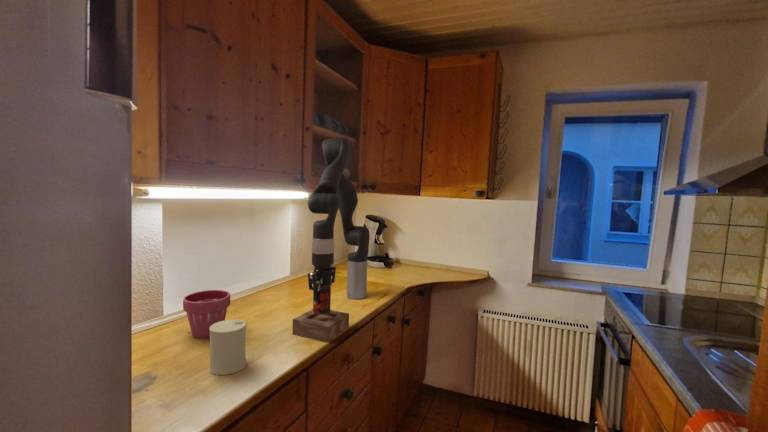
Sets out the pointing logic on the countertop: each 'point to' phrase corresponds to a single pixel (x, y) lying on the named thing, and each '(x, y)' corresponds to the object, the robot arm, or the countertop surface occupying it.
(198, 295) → the plant pot
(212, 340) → the can
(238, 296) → the countertop surface
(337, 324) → the plinth
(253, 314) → the countertop surface
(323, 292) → the deodorant
